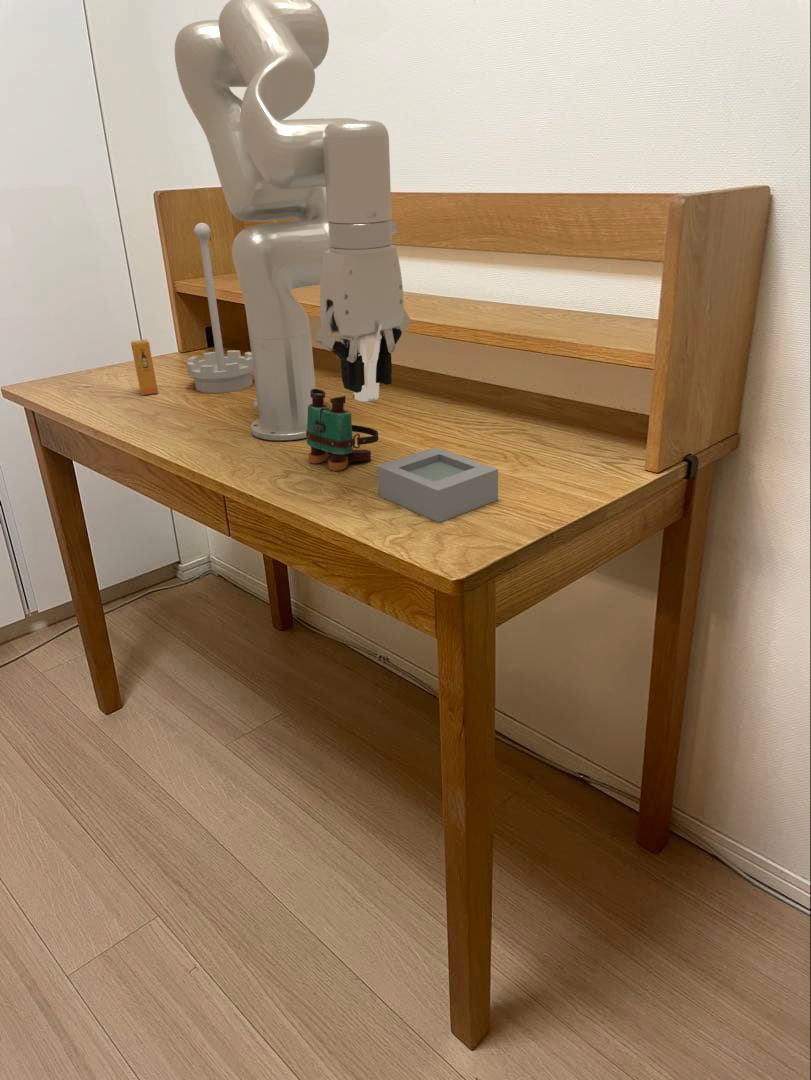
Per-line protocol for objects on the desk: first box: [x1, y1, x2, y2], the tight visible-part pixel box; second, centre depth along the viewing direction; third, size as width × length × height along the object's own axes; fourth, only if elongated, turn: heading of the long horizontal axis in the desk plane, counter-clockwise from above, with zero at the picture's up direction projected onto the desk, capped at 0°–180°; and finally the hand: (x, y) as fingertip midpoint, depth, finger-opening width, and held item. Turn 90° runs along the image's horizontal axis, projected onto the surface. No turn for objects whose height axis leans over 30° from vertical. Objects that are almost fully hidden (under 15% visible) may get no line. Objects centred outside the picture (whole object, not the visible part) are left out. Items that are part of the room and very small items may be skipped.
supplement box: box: [130, 339, 159, 397], centre depth 160 cm, size 3×3×10 cm
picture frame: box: [376, 446, 499, 524], centre depth 108 cm, size 12×10×4 cm
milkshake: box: [347, 324, 382, 402], centre depth 107 cm, size 4×5×10 cm
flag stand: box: [186, 222, 254, 394], centre depth 159 cm, size 13×13×30 cm
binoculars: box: [306, 388, 379, 472], centre depth 122 cm, size 9×11×10 cm
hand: (367, 384), depth 108 cm, fingers closed on milkshake, 4 cm apart
